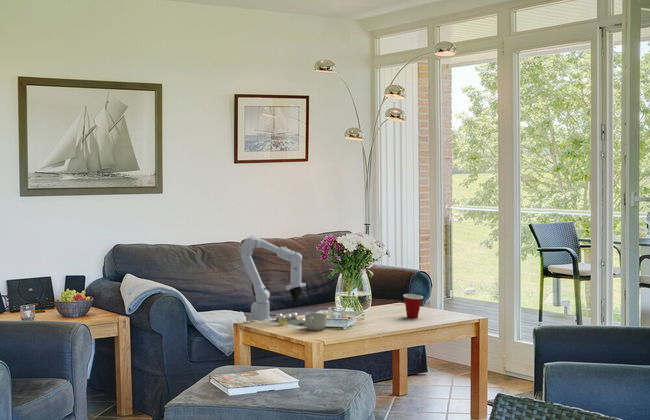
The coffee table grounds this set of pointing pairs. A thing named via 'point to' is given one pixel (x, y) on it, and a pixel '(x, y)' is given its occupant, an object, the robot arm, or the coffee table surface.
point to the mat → (291, 324)
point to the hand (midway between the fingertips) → (295, 301)
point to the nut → (283, 322)
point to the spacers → (290, 317)
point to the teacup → (315, 321)
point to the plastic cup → (412, 305)
